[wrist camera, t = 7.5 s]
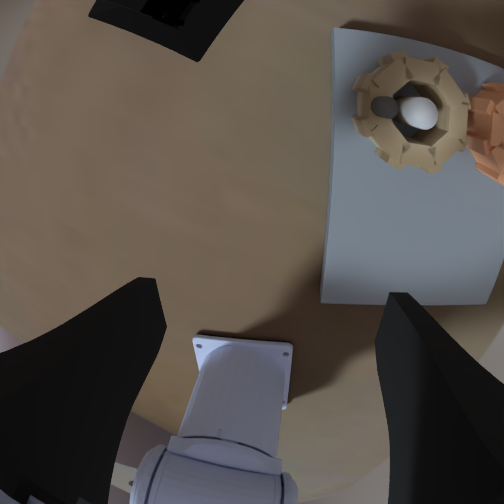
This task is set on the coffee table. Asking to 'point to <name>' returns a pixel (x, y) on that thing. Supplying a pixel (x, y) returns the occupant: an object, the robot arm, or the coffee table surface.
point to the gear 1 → (385, 108)
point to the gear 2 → (487, 130)
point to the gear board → (406, 193)
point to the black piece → (170, 21)
